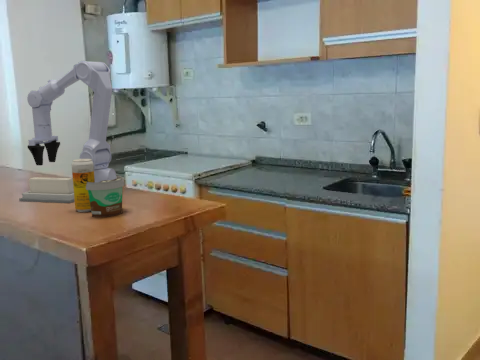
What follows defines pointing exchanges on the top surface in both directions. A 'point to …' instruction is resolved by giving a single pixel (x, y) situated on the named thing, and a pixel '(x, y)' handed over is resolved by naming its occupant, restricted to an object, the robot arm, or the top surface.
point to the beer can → (82, 183)
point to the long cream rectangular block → (51, 185)
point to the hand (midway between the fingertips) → (46, 163)
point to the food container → (106, 197)
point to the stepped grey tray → (47, 197)
